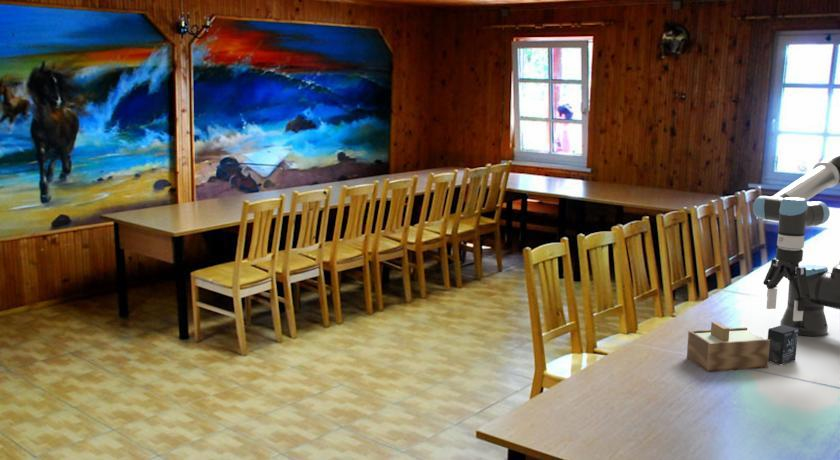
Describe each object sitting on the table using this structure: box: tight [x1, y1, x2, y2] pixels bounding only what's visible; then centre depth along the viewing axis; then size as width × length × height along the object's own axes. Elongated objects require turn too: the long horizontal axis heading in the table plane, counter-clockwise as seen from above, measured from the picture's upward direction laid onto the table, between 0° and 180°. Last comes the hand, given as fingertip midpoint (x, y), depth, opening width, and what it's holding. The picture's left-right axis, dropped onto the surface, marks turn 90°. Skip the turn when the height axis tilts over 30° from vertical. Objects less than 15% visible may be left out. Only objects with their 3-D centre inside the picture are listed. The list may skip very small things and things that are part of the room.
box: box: [767, 325, 799, 366], centre depth 255 cm, size 8×6×11 cm
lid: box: [695, 321, 765, 343], centre depth 252 cm, size 19×11×5 cm, turn 100°
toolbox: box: [686, 326, 770, 373], centre depth 253 cm, size 20×13×9 cm, turn 100°
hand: (783, 314), depth 253 cm, fingers open, 13 cm apart
